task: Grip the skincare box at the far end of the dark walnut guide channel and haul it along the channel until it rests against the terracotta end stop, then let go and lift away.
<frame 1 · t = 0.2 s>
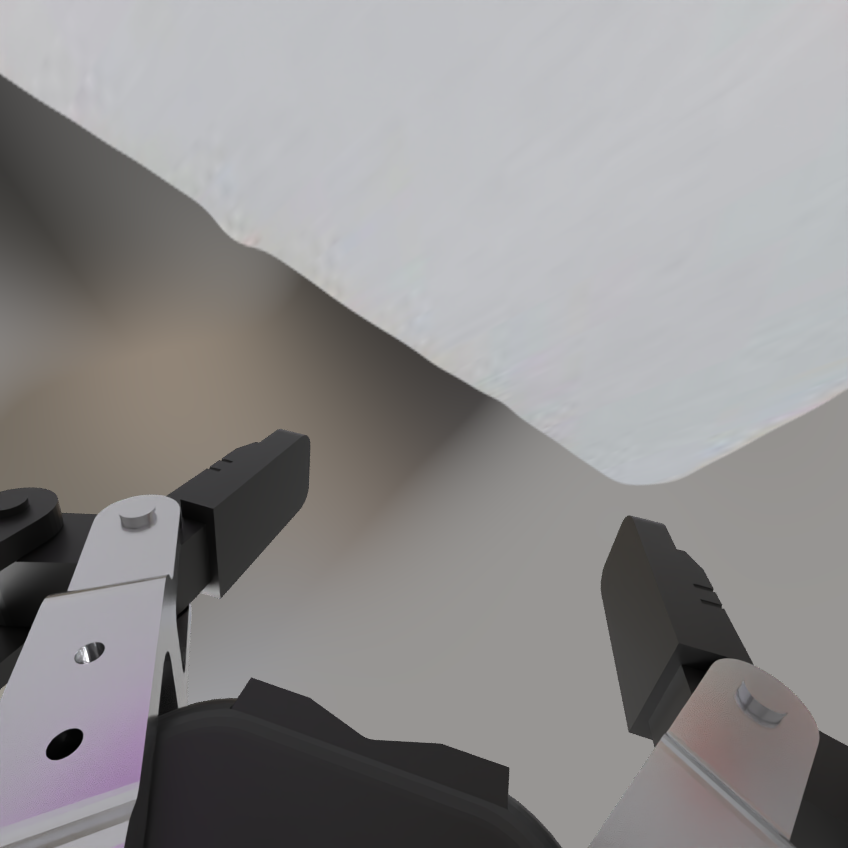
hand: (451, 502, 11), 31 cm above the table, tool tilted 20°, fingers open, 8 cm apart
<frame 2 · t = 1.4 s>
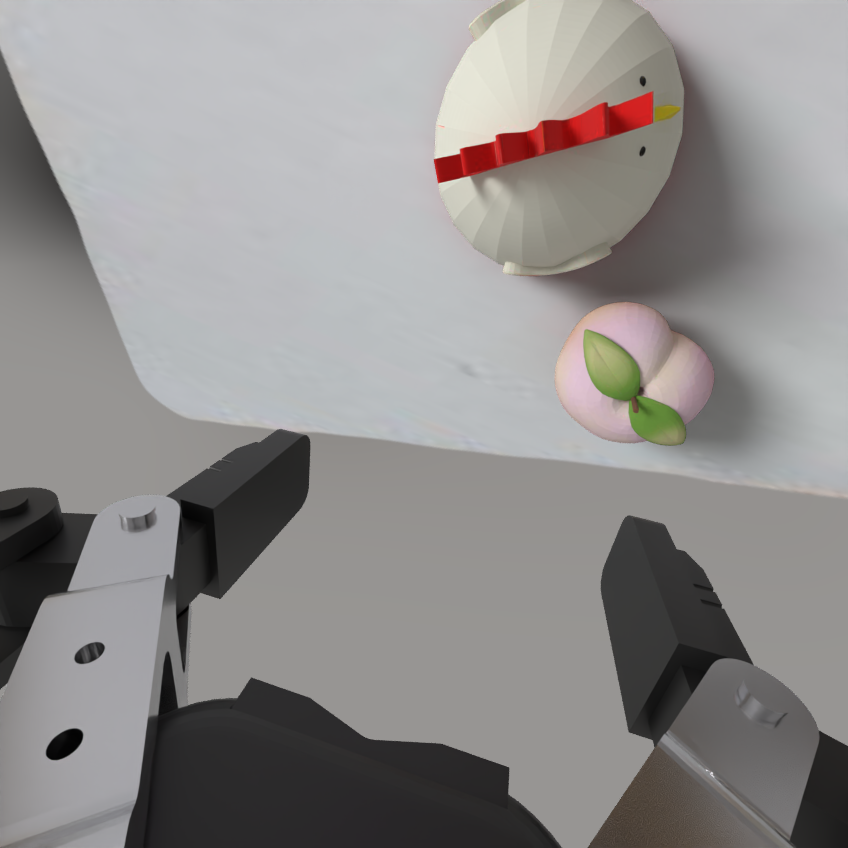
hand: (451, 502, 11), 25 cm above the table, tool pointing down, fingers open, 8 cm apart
kitchen timer: (551, 150, 27), on the table
decorative fruit: (619, 348, 32), on the table
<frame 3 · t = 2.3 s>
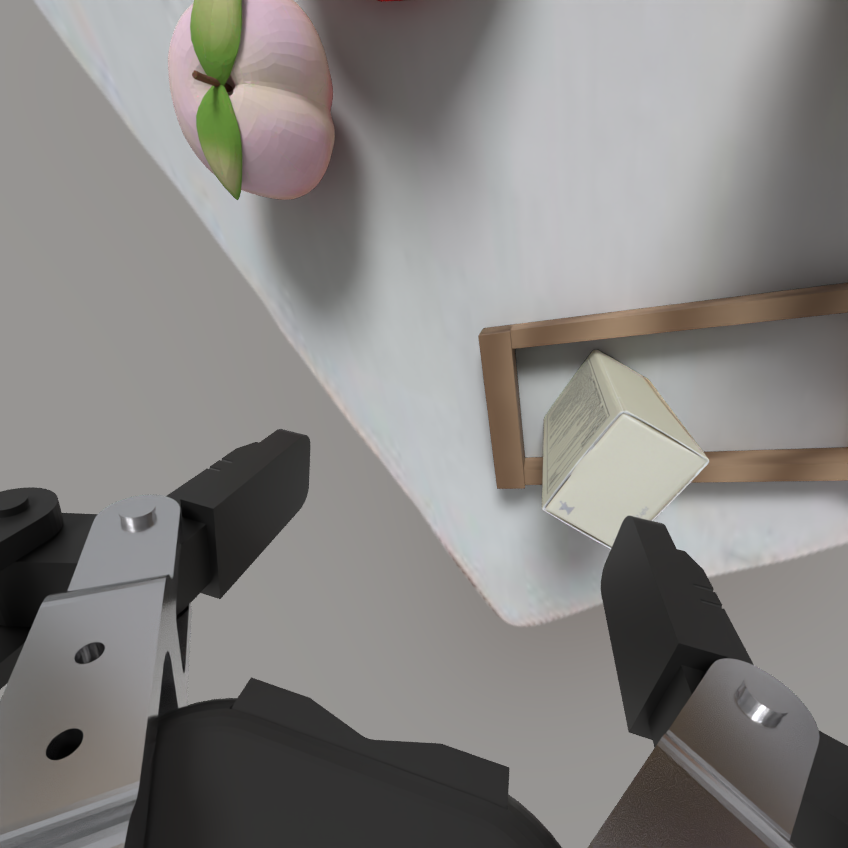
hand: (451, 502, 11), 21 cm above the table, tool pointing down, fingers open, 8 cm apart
skincare box: (593, 396, 30), resting in guide channel
guide channel: (674, 391, 28), on the table
decorative fruit: (305, 126, 28), on the table
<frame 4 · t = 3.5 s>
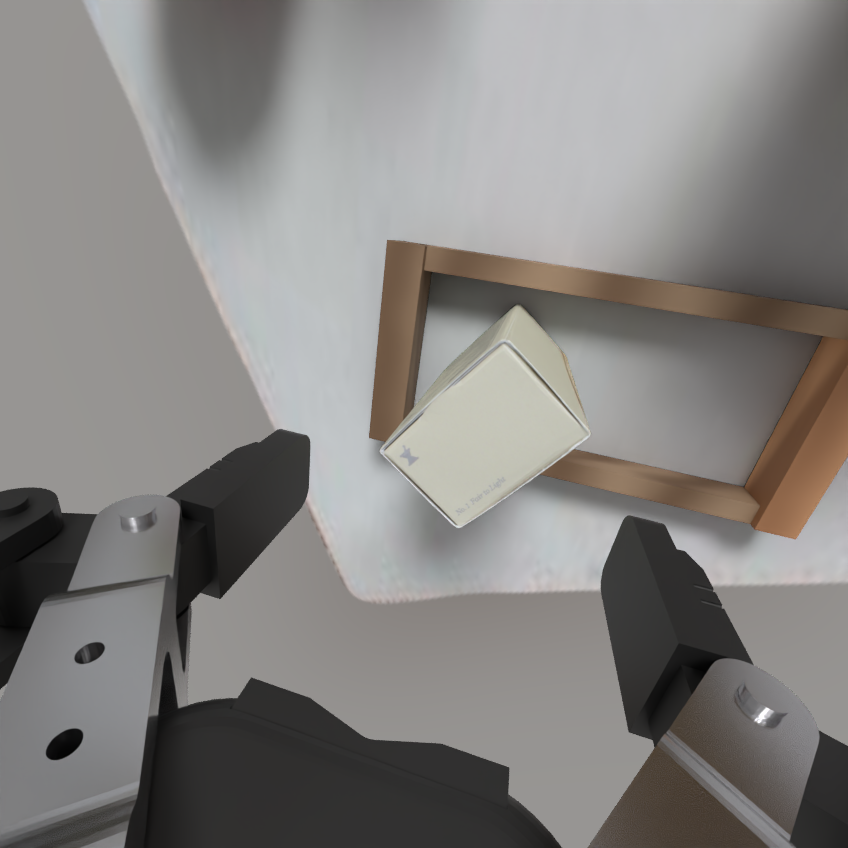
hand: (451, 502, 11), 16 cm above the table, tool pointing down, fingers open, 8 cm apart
skincare box: (503, 360, 25), resting in guide channel
guide channel: (589, 378, 24), on the table
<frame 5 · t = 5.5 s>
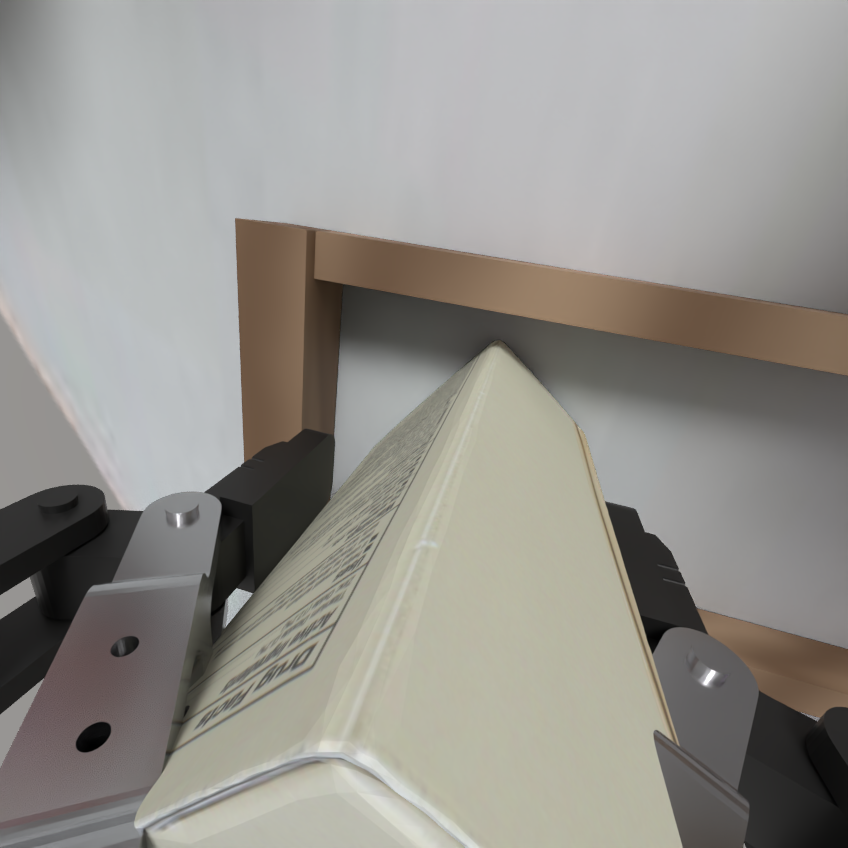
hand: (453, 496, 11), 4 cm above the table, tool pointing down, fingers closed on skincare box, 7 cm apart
skincare box: (473, 434, 15), resting in guide channel, touching gripper
guide channel: (624, 472, 14), on the table
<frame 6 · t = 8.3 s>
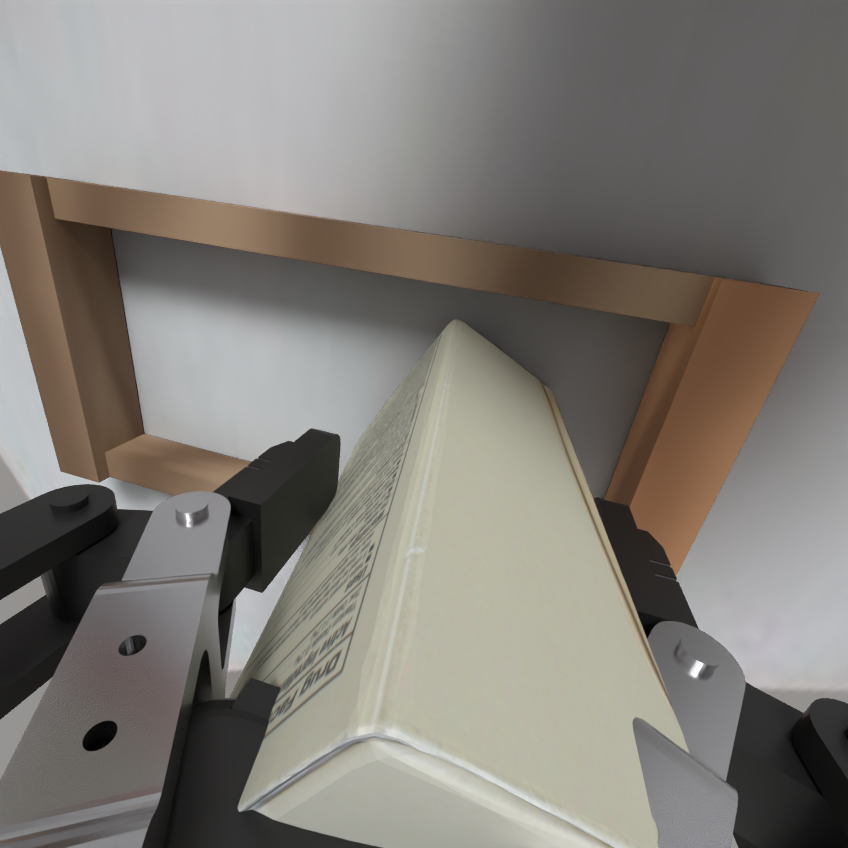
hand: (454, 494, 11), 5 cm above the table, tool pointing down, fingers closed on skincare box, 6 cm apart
skincare box: (449, 410, 15), resting in guide channel, touching gripper
guide channel: (349, 387, 16), on the table
when the fingers open (4 cm above the table, at t = 10.0 s): skincare box stays where it is, resting in guide channel.
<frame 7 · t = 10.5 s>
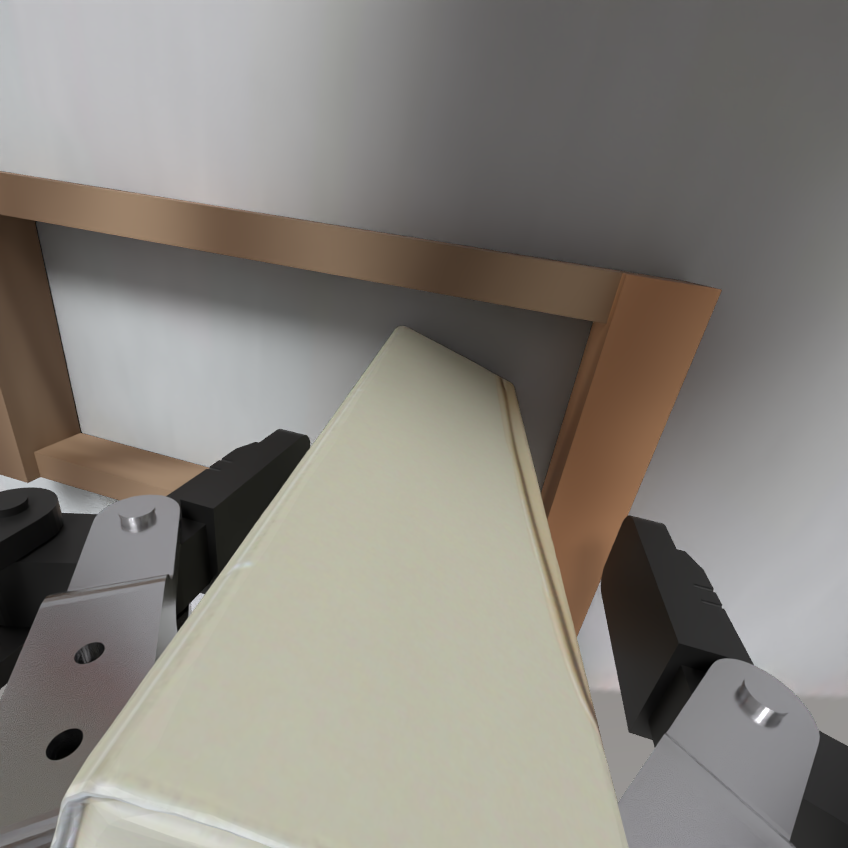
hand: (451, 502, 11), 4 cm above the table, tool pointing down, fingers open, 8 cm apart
skincare box: (415, 420, 15), resting in guide channel, touching gripper
guide channel: (281, 385, 16), on the table
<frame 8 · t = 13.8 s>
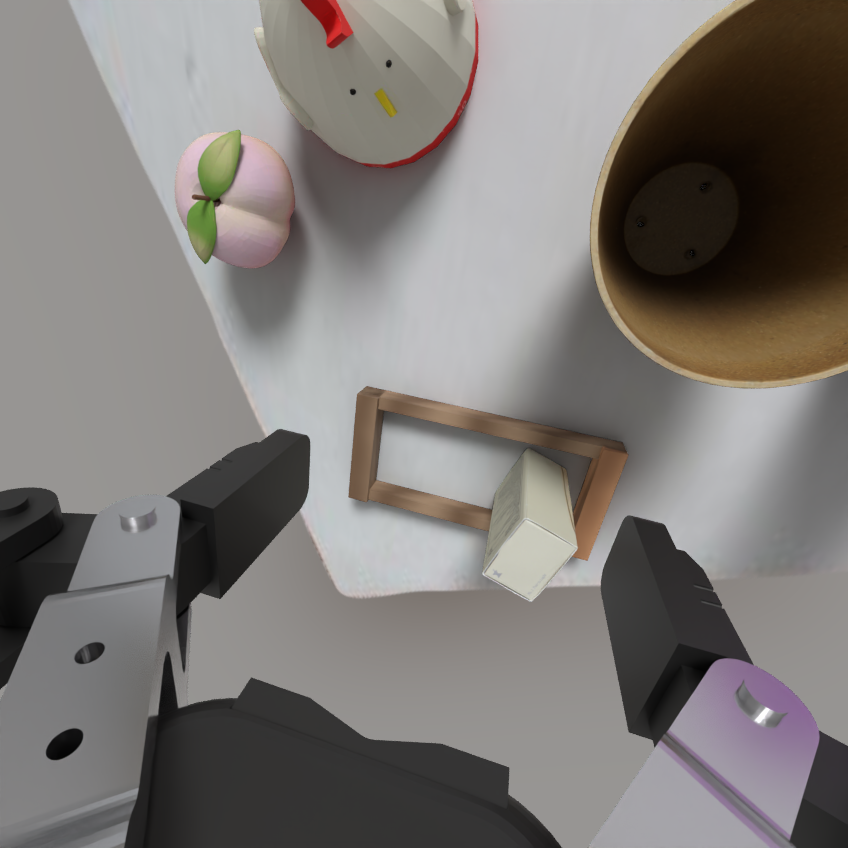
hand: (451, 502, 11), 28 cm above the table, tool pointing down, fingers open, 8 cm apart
skincare box: (529, 478, 41), resting in guide channel
guide channel: (476, 466, 42), on the table
kitchen timer: (384, 59, 31), on the table
decorative fruit: (273, 208, 37), on the table
plant pot: (672, 225, 31), on the table
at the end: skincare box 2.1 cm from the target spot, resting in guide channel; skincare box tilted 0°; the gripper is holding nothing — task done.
